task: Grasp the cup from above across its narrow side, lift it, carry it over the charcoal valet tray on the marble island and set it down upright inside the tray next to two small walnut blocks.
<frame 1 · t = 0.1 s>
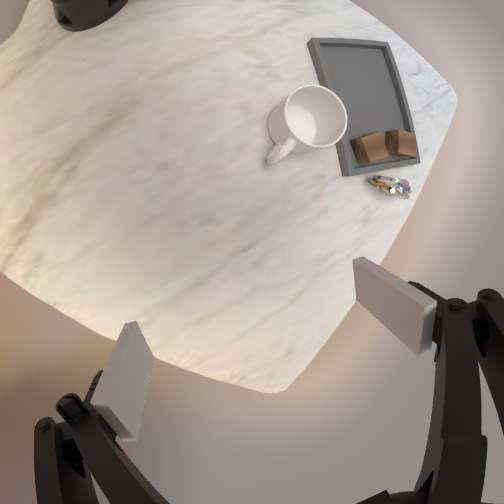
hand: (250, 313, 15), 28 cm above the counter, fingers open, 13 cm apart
tray: (365, 102, 40), on the counter
cup: (285, 136, 40), on the counter
block b: (393, 144, 41), point 1 cm above the counter, touching tray
ring: (377, 185, 44), on the counter
block a: (362, 148, 41), point 1 cm above the counter, touching tray
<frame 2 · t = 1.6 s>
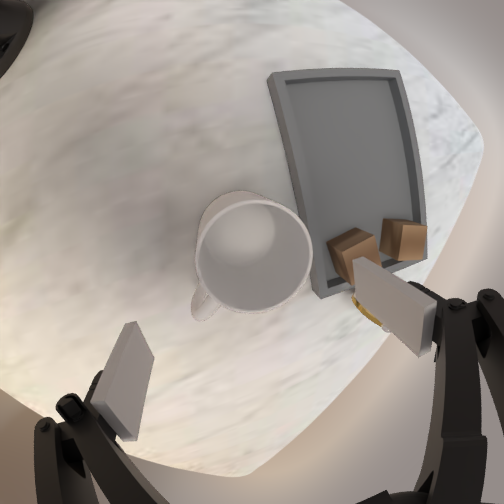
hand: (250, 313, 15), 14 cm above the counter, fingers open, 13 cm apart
tray: (358, 174, 29), on the counter
cup: (228, 243, 29), on the counter
block b: (393, 234, 31), point 1 cm above the counter, touching tray
ring: (362, 292, 34), on the counter
block a: (345, 250, 30), point 1 cm above the counter, touching tray
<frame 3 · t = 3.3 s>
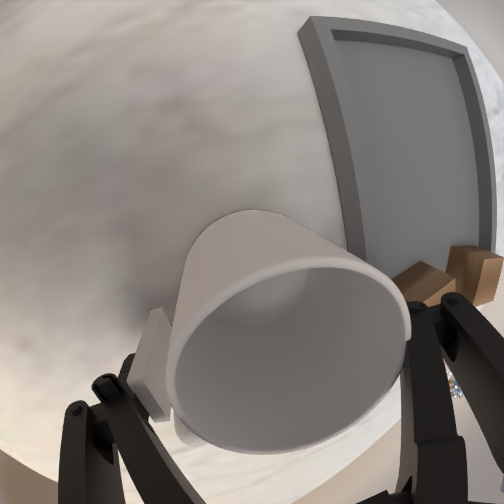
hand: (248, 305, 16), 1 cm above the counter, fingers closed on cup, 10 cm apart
tray: (425, 183, 18), on the counter
cup: (232, 294, 18), on the counter, touching gripper
block b: (458, 266, 20), point 1 cm above the counter, touching tray
ring: (413, 342, 22), on the counter
block a: (405, 293, 19), point 1 cm above the counter, touching tray
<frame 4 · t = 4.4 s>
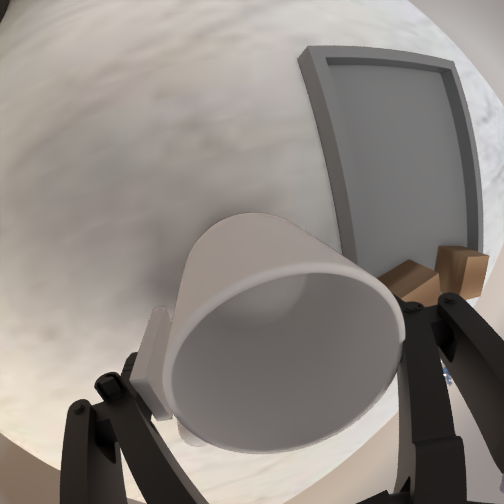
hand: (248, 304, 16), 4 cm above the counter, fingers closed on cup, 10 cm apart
tray: (412, 189, 21), on the counter
cup: (233, 296, 18), point 2 cm above the counter, touching gripper
block b: (447, 265, 22), point 1 cm above the counter, touching tray
block a: (395, 288, 22), point 1 cm above the counter, touching tray
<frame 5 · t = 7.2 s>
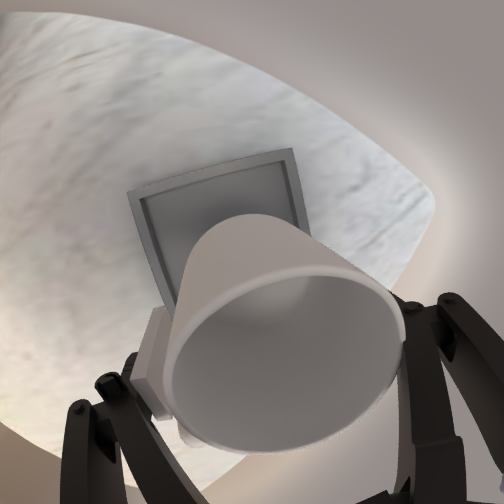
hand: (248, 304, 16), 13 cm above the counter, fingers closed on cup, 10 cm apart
tray: (238, 277, 30), on the counter
cup: (233, 297, 18), point 12 cm above the counter, touching gripper
when the fingers open (3 cm above the counter, at t = 9.8 s): cup stays where it is, resting on tray.
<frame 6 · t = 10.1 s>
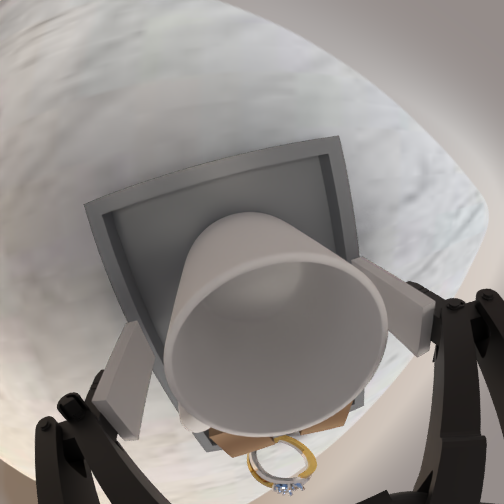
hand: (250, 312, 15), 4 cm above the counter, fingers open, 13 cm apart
tray: (253, 324, 21), on the counter
cup: (231, 292, 19), point 1 cm above the counter, touching tray
block b: (312, 386, 22), point 1 cm above the counter, touching tray
ring: (274, 432, 25), on the counter
block a: (237, 408, 22), point 1 cm above the counter, touching tray
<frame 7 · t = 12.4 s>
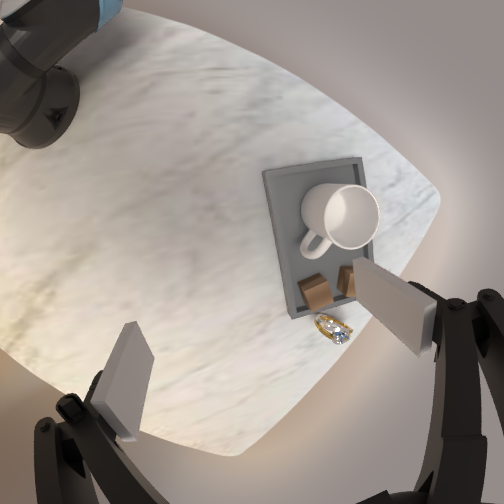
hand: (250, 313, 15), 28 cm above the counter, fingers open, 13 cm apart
tray: (323, 236, 45), on the counter
cup: (316, 218, 43), point 1 cm above the counter, touching tray
block b: (348, 277, 46), point 1 cm above the counter, touching tray
ring: (325, 316, 49), on the counter
block a: (311, 287, 46), point 1 cm above the counter, touching tray
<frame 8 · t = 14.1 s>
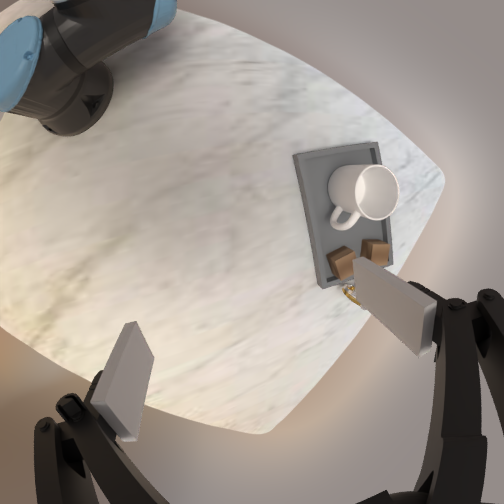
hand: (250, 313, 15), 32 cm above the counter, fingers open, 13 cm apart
tray: (346, 212, 48), on the counter
cup: (341, 196, 47), point 1 cm above the counter, touching tray
block b: (369, 249, 50), point 1 cm above the counter, touching tray
ring: (349, 286, 53), on the counter
block a: (338, 259, 50), point 1 cm above the counter, touching tray
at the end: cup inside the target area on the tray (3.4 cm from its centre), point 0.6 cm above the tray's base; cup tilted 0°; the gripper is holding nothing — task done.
